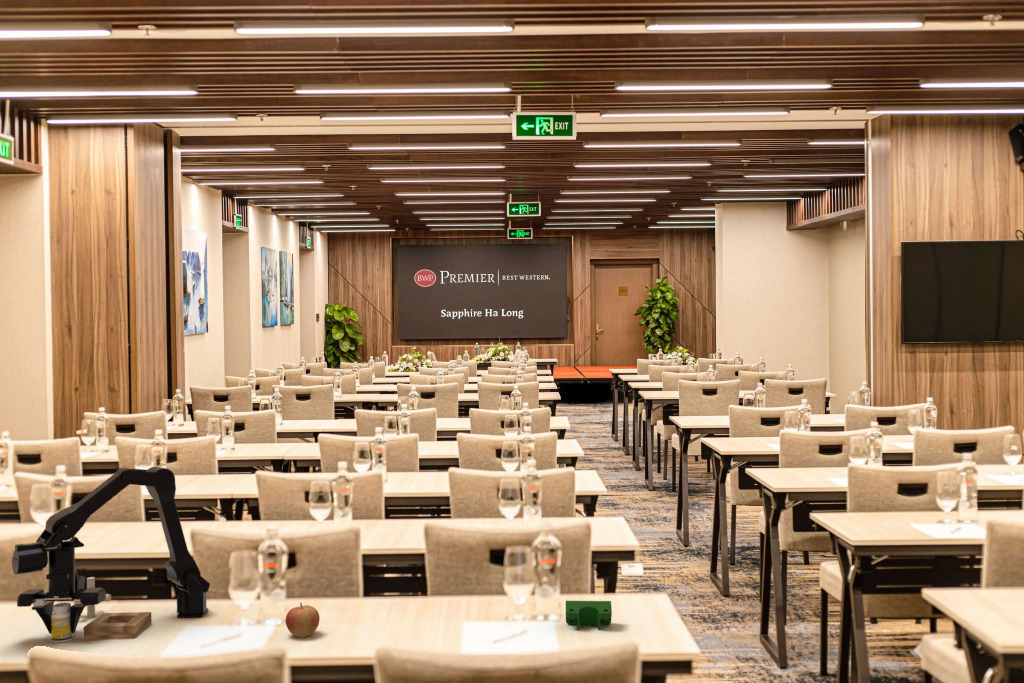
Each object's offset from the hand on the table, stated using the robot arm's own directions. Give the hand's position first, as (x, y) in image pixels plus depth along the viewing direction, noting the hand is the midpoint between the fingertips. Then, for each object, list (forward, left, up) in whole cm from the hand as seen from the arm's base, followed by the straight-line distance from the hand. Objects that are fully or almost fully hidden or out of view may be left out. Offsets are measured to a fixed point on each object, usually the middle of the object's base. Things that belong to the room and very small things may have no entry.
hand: (62, 633), depth 228 cm
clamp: (-126, 0, -2) cm, 126 cm away
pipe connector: (+1, -20, -2) cm, 20 cm away
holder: (-11, -6, -2) cm, 13 cm away
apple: (-57, +1, -2) cm, 57 cm away
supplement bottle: (0, 0, -2) cm, 2 cm away
